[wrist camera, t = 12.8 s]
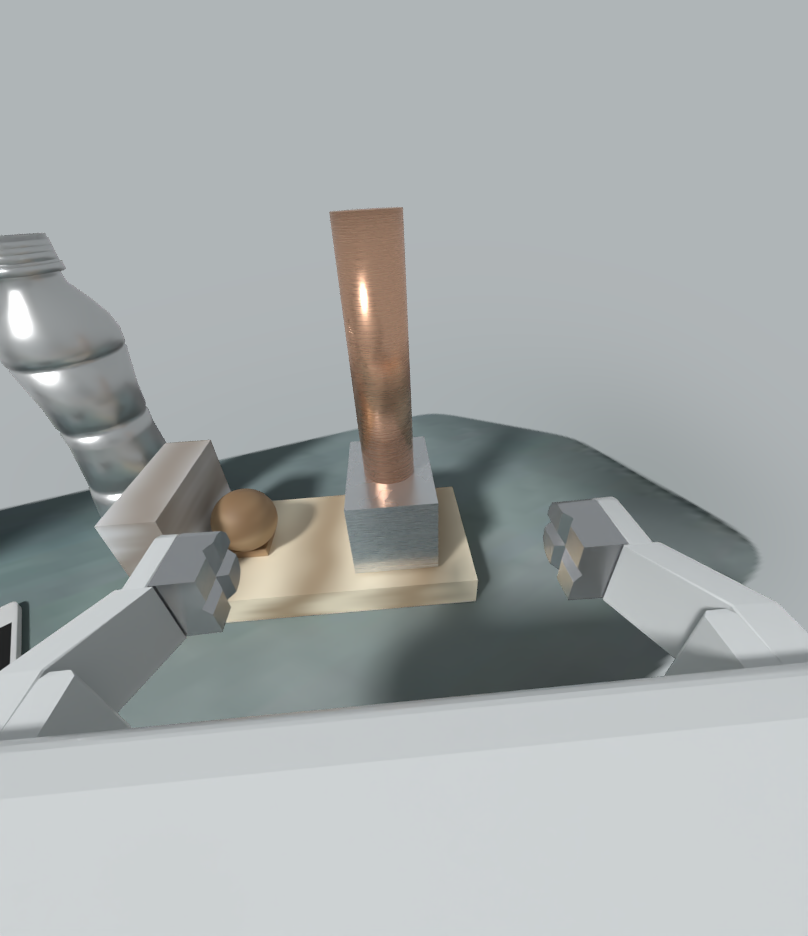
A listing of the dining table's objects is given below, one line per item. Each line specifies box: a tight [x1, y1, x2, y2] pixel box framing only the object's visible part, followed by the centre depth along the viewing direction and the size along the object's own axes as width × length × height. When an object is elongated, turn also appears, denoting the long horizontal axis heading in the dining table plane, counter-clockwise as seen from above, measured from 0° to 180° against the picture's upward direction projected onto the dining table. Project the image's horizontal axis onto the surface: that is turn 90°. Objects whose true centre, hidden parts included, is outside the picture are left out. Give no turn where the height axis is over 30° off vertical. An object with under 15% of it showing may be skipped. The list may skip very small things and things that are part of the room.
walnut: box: [210, 489, 278, 558], centre depth 25 cm, size 4×4×4 cm
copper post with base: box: [330, 207, 438, 573], centre depth 21 cm, size 5×7×18 cm
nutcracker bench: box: [94, 440, 478, 623], centre depth 25 cm, size 20×9×8 cm, turn 94°
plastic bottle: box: [0, 233, 166, 517], centre depth 26 cm, size 6×7×20 cm
